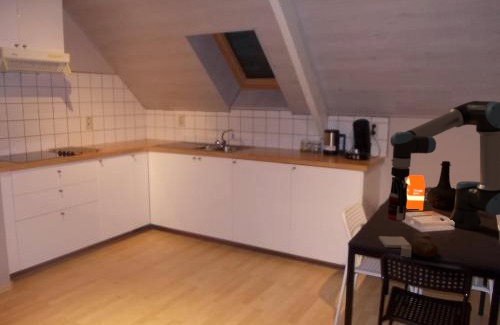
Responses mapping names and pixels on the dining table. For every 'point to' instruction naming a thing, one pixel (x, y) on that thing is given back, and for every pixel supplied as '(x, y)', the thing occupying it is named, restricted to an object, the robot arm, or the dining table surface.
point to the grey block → (406, 251)
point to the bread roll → (424, 247)
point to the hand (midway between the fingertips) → (396, 217)
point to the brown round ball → (422, 236)
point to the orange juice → (415, 192)
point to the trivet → (393, 241)
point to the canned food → (394, 207)
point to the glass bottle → (443, 190)
